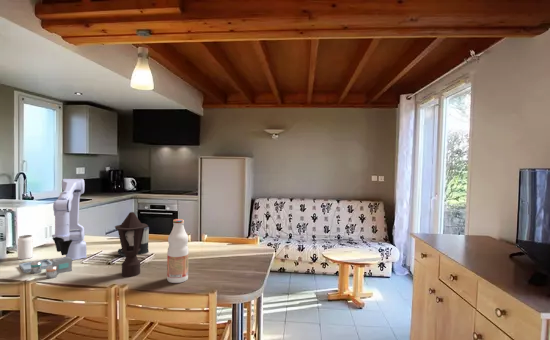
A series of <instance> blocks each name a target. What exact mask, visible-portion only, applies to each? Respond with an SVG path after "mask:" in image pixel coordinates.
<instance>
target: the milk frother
mask: <svg viewBox="0 0 550 340" xmlns="http://www.w3.org/2000/svg"><path fill="white" fill-rule="evenodd" d="M149 231H150V227H149V226H148V227H146V228H144V232H143V237H142V242H141V246H140V251H139V252H138V254H137V255H145V254H147V253H149V236H150V233H149ZM117 255H119V256H121V257H122V258H123V257H126V256H125V253H123V252H122V248H119V249H117Z"/></svg>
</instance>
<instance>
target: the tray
mask: <svg viewBox="0 0 550 340" xmlns="http://www.w3.org/2000/svg"><path fill="white" fill-rule="evenodd" d="M34 261H35V260H33V261H32V260H31V261H28V262H22V263H19V264H18V267H19V268H20V269H21V271H22V272H23V273H24V274H27V273H31V262H34ZM37 261H41V263H42V265H41V270H46V267H47V266H51V265H52V260H50V259H49V258H45V259H43V258H42V259H39V260H38V259H37Z"/></svg>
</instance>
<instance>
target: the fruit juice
mask: <svg viewBox="0 0 550 340" xmlns="http://www.w3.org/2000/svg"><path fill="white" fill-rule="evenodd" d="M172 224H173V227H172V230H171V232H170V234H169V235H168V237H167V243H168V248H167V258H166V259H167V261H166V262H167V263H166V264H167V265H166V266H167V267H166V269H167V271H166V279H167V280H166V281H168V282H169V283H173V284H179V283H180V284H181V283H183V282H186V281H188V279H189V246H188V243H189V235H188V233H187V232H186V229H185V226H184V224H185V220H184V219H182V218H175V219H173V221H172Z"/></svg>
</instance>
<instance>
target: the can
mask: <svg viewBox="0 0 550 340" xmlns="http://www.w3.org/2000/svg"><path fill="white" fill-rule="evenodd" d="M33 247H34V237H33V235H32V234H24V235H20V236H18V239H17V259H18V260H21V261H24V260H28V259H31V258H33V257H34V248H33Z"/></svg>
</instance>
